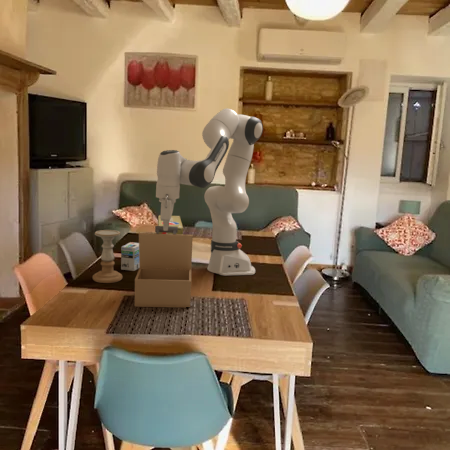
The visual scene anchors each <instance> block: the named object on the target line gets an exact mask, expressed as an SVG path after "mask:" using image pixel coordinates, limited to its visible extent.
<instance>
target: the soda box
mask: <svg viewBox="0 0 450 450" xmlns="http://www.w3.org/2000/svg"><path fill="white" fill-rule="evenodd" d="M160 216H161V214H159V215H158V217H157V226H163V221H161V218H160ZM181 219H182V218H181V215H172V216H171V219H170V221H169V226H174V227H178V233H176V234H182V235H184V227H183V223H182V220H181ZM159 234H173V233H166V232H159Z"/></svg>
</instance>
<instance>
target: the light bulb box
mask: <svg viewBox="0 0 450 450" xmlns="http://www.w3.org/2000/svg"><path fill="white" fill-rule="evenodd" d="M120 249H121V251H120V252H121V253H120V254H121V255H120V257H121V258H120V259H121V260H120V265H121V266H120V269H121V270H123V271H124V270H125V271H131V272H135V271H137V270H139V268H140V265H139V242H133V241H132V242H131V241H130V242H128V243H126V244H125V245H122V246H121V247H120Z"/></svg>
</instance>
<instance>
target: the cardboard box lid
mask: <svg viewBox="0 0 450 450" xmlns="http://www.w3.org/2000/svg"><path fill="white" fill-rule="evenodd" d="M154 232H155V233H152V232H151V233H149V232H148V233H147V232H145V233H144V232H139V233H138V243H139V265H140V268H161V269H191V270H192V263H193V262H192V261H193V239H194V238H193V237H194V235H193V234H183V235H182V234H176V233H178V227H174V226H168V231H164V230H163V226H158V225H155V228H154ZM159 232H166V233H173V234H159Z"/></svg>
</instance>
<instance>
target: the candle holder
mask: <svg viewBox="0 0 450 450" xmlns="http://www.w3.org/2000/svg"><path fill="white" fill-rule="evenodd" d="M121 234H122V233H121V231H119V230H116V229H115V230H113V229H103V230H102V229H100V230H96V231H95V232H94V236H96V237H99V238H101V240H102V242H103V243H102V245H101V248H102V252H101V256H100V258H101V262H100V263H99V264H100V265H101V270H99V271H98V272H96V273H94V274H93V275H92V280H93V281H94V282H96V283H101V284H111V283H118V282H120V281H122V279H123V274H122V273H120V272H118V271H117V270H114V266H115V264H116V263H115V261H114V260H115V254H114V250H113V248H114V247H115V245H114V244H113V240H114V239H115V238H116V237H119V236H121Z"/></svg>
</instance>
